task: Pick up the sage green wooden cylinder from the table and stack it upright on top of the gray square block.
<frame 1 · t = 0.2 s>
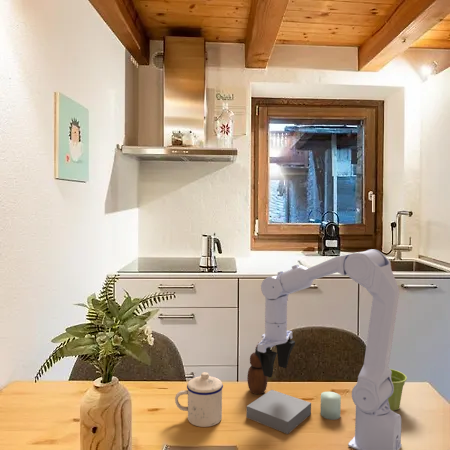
hand: (275, 371, 110), 10 cm above the table, tool pointing down, fingers open, 7 cm apart
wooden figurine: (257, 392, 120), on the table
gray square block: (278, 415, 106), on the table
teacup with lid: (199, 419, 104), on the table
sage cylinder: (330, 414, 107), on the table
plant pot: (386, 406, 112), on the table
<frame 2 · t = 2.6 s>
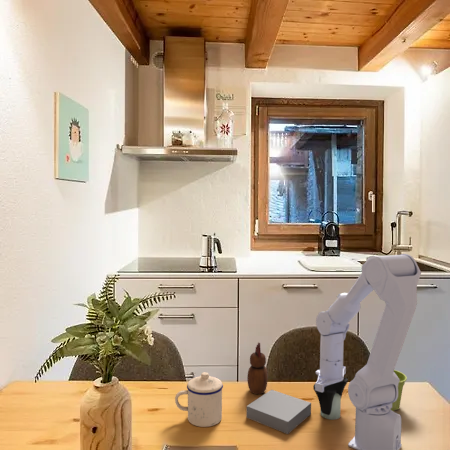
hand: (330, 409, 107), 1 cm above the table, tool pointing down, fingers closed on sage cylinder, 5 cm apart
sage cylinder: (330, 414, 107), on the table, touching gripper
everything else where it was.
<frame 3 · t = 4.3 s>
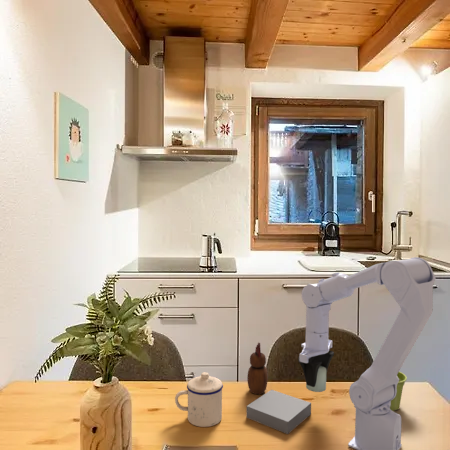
hand: (315, 381, 106), 9 cm above the table, tool pointing down, fingers closed on sage cylinder, 5 cm apart
sage cylinder: (315, 387, 106), point 7 cm above the table, touching gripper
everything else where it was.
when the fingers open (5 cm above the table, at t = 6.3 s): sage cylinder stays where it is, resting on gray square block.
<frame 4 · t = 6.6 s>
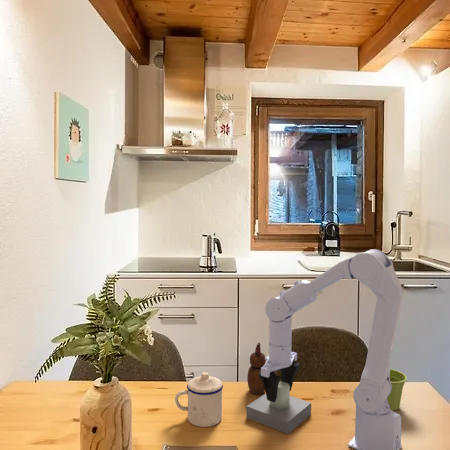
hand: (279, 395, 106), 5 cm above the table, tool pointing down, fingers open, 7 cm apart
sage cylinder: (279, 404, 106), point 3 cm above the table, touching gray square block
everything else where it was.
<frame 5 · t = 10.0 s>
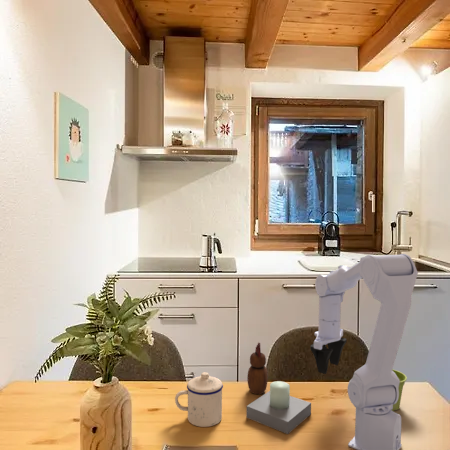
hand: (328, 368, 112), 10 cm above the table, tool pointing down, fingers open, 7 cm apart
nothing on the table moved.
at the end: sage cylinder inside the target area on the gray square block (0.1 cm from its centre), point 3.0 cm above the gray square block's base; sage cylinder tilted 0°; the gripper is holding nothing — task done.
